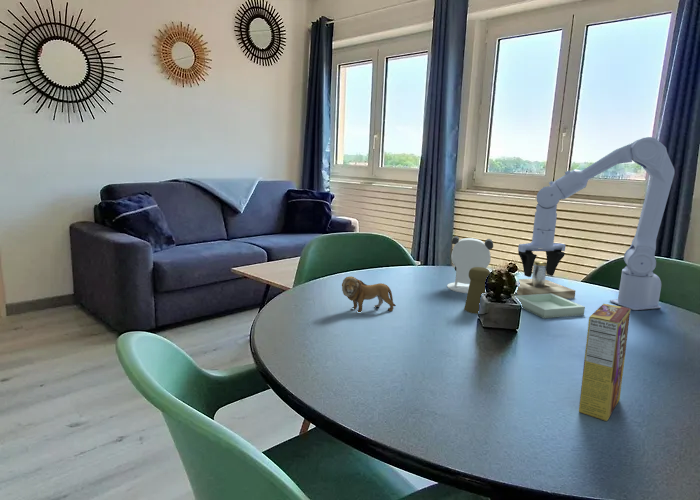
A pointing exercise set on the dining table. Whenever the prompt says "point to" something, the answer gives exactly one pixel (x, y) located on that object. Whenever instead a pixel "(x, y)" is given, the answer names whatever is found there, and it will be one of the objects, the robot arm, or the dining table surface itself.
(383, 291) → the lion figurine
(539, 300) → the sage tray
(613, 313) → the candy box
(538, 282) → the steel pin
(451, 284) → the panda figurine
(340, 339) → the dining table surface
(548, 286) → the hitch block
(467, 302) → the cork
